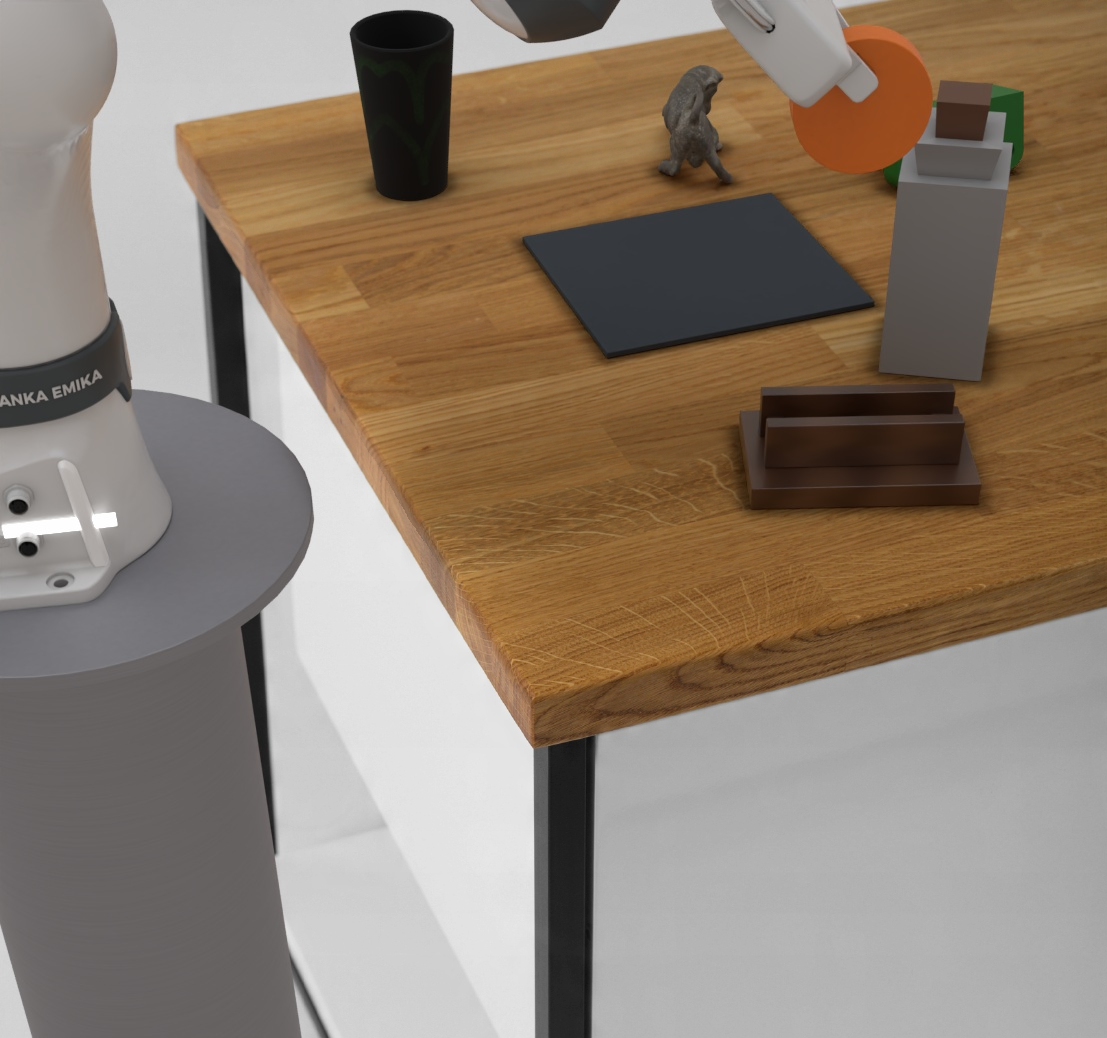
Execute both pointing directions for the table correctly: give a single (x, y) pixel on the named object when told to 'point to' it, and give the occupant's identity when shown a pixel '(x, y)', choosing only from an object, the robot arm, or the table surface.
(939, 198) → the perfume bottle
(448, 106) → the cup
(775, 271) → the mat
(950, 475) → the rack
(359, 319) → the table surface
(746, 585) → the table surface
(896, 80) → the disc
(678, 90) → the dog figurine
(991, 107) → the clamp
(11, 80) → the robot arm
